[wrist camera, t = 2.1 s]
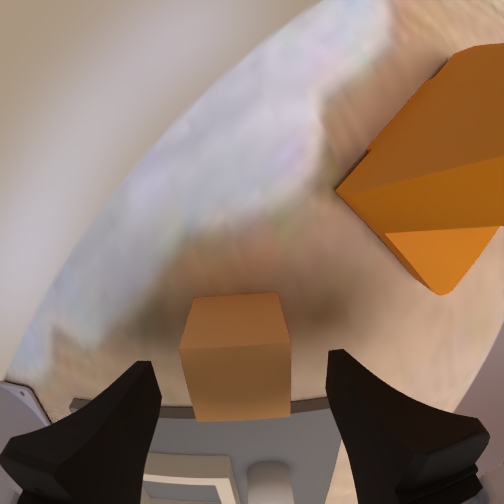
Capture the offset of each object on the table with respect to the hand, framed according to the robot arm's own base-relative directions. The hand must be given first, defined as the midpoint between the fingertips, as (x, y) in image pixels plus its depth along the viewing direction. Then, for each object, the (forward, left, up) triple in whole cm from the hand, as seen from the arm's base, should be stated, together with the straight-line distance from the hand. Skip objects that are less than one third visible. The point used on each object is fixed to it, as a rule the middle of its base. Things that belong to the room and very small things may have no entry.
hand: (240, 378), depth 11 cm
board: (-3, -13, -4) cm, 14 cm away
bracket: (+11, +8, -4) cm, 14 cm away
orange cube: (0, 0, -4) cm, 4 cm away
